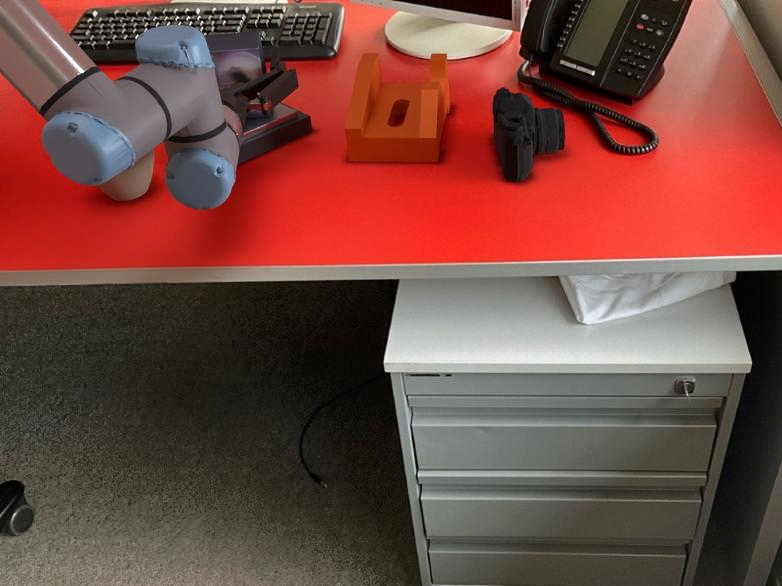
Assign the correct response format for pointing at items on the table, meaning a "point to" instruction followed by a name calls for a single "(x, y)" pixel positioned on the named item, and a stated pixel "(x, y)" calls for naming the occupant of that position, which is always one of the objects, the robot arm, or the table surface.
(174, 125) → the robot arm
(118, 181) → the flower pot
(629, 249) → the table surface
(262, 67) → the small box
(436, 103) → the orange slotted bracket
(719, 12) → the table surface
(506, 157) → the film camera
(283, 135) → the scale
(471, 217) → the table surface
